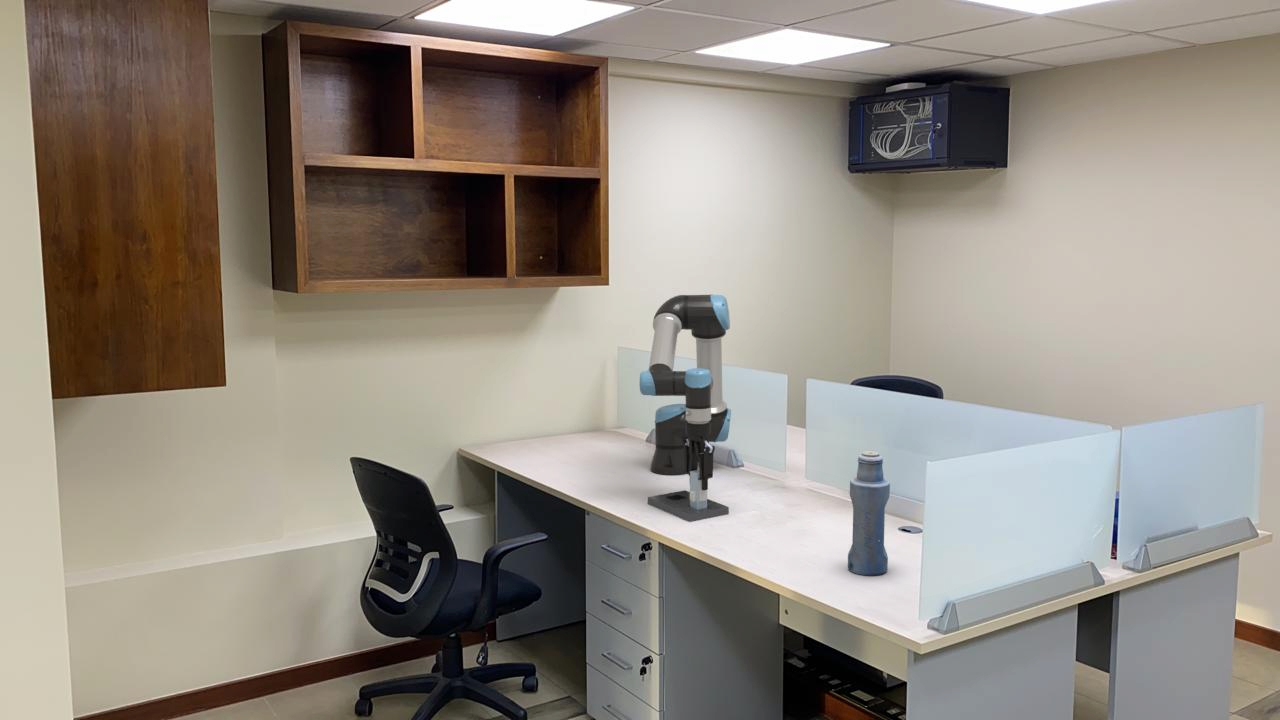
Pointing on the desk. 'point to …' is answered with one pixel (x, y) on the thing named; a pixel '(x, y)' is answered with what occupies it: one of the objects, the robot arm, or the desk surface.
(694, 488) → the pale blue rectangular prism
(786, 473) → the desk surface
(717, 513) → the dark grey base plate
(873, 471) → the bottle
